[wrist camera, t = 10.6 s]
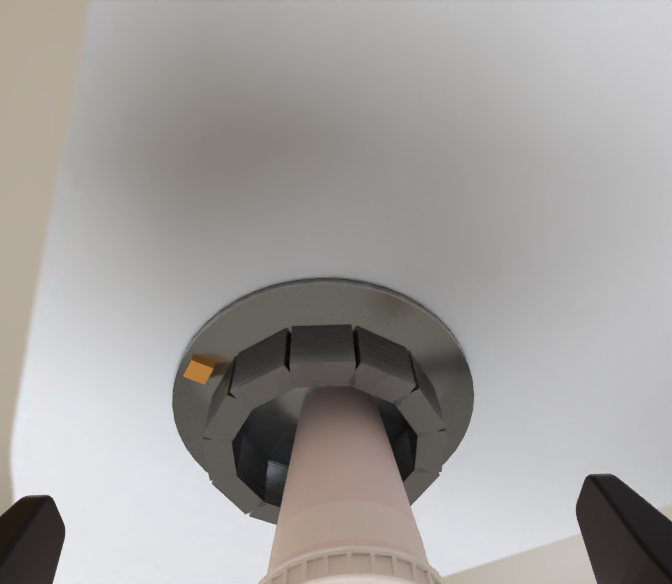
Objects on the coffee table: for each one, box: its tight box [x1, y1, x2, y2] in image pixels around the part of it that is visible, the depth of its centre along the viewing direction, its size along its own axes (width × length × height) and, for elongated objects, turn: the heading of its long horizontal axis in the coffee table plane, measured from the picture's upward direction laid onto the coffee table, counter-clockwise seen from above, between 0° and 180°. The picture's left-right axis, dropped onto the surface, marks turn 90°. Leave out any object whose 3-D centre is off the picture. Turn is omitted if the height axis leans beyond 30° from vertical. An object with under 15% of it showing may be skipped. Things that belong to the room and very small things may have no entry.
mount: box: [172, 279, 474, 525], centre depth 24 cm, size 14×14×3 cm
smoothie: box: [259, 386, 445, 584], centre depth 19 cm, size 6×6×14 cm
